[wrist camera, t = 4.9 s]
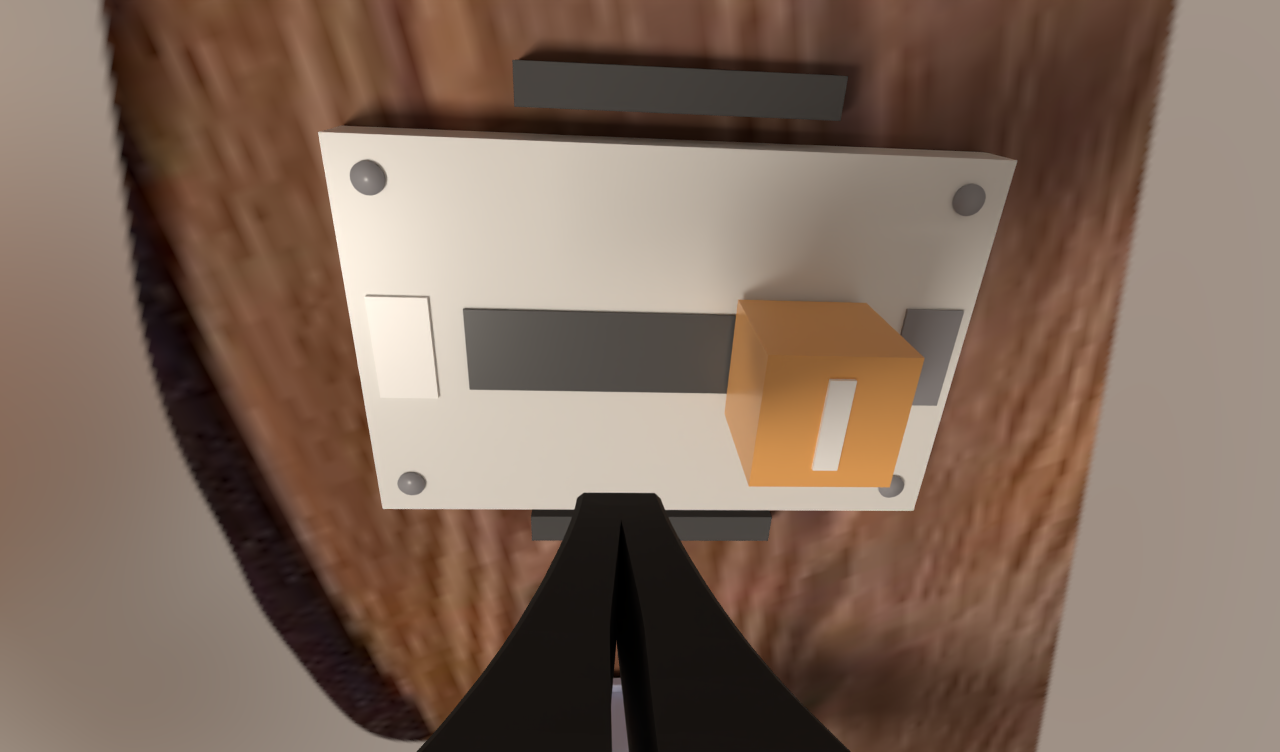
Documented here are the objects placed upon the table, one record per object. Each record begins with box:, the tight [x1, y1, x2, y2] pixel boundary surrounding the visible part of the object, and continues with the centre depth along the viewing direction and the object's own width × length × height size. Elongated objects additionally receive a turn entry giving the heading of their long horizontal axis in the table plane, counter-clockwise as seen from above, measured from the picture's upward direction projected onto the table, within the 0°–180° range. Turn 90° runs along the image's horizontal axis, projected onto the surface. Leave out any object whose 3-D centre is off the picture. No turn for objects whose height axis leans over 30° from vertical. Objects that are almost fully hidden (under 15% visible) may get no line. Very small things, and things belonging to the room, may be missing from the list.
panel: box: [318, 126, 1017, 511], centre depth 18 cm, size 11×17×2 cm, turn 87°
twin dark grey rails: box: [513, 60, 848, 541], centre depth 19 cm, size 14×8×1 cm, turn 177°
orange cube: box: [724, 300, 925, 487], centre depth 16 cm, size 4×4×4 cm
